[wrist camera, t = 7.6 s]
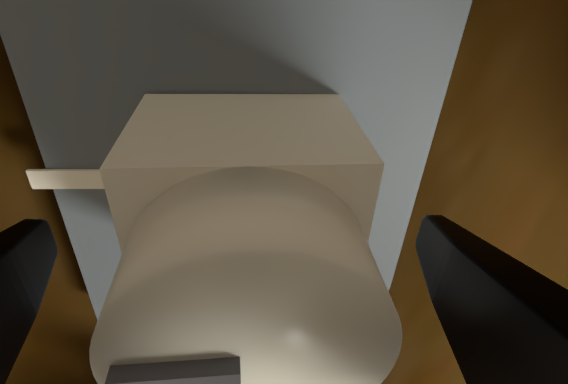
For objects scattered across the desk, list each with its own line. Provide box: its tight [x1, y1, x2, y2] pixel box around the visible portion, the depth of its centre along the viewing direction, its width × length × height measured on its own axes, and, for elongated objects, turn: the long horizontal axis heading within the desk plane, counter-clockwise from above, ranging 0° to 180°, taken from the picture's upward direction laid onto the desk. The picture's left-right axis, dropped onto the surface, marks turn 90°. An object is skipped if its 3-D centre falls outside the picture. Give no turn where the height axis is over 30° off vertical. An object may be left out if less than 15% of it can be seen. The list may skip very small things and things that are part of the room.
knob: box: [89, 94, 402, 384], centre depth 9 cm, size 5×5×6 cm
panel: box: [0, 0, 472, 320], centre depth 10 cm, size 12×13×5 cm
